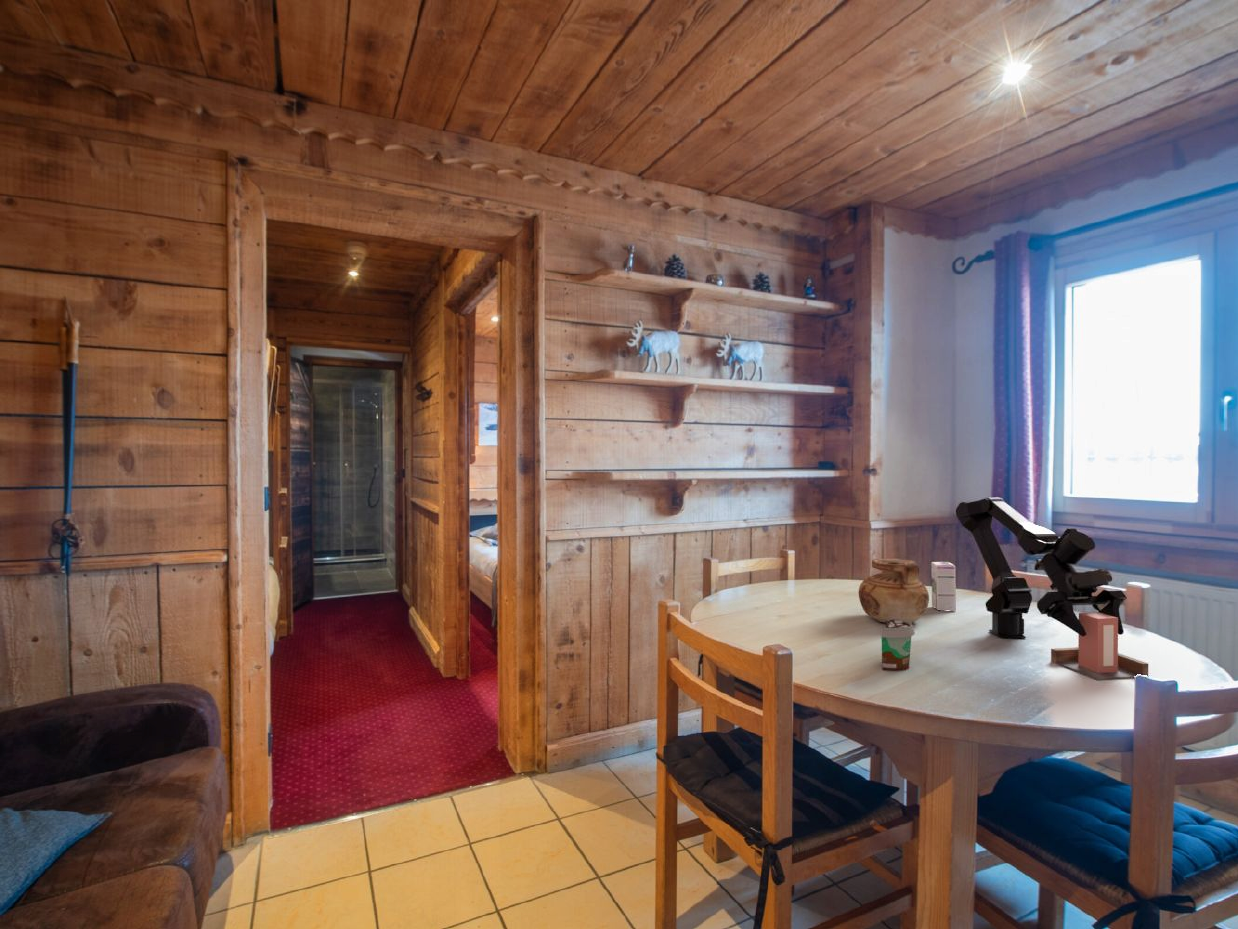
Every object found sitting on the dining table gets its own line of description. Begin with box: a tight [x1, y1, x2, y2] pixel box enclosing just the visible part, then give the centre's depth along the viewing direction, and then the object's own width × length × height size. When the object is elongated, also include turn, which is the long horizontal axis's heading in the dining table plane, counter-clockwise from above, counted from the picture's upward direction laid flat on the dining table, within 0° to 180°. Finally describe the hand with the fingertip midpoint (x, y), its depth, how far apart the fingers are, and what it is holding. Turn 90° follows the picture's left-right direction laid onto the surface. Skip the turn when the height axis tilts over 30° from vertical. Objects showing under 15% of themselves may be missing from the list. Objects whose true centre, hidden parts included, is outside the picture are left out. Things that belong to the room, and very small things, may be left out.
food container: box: [880, 616, 916, 672], centre depth 146 cm, size 12×6×10 cm, turn 148°
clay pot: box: [858, 557, 930, 624], centre depth 186 cm, size 19×19×20 cm
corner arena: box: [1050, 647, 1149, 681], centre depth 143 cm, size 12×12×3 cm
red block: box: [1078, 611, 1119, 673], centre depth 142 cm, size 5×5×12 cm
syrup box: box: [931, 561, 957, 612], centre depth 198 cm, size 6×6×14 cm
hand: (1103, 634), depth 141 cm, fingers open, 9 cm apart
